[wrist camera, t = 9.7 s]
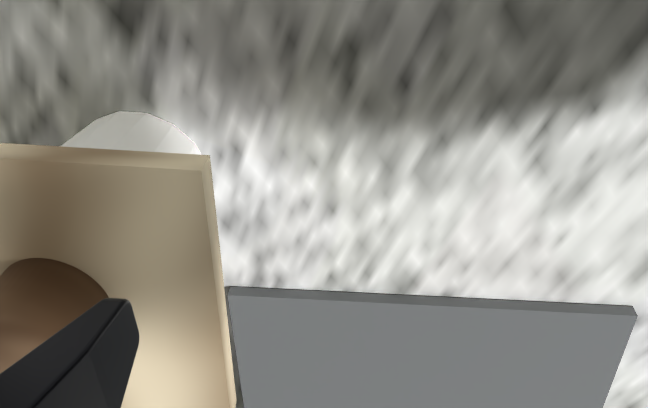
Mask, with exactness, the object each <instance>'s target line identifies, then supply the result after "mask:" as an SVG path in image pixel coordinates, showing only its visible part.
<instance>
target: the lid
mask: <svg viewBox="0 0 648 408" xmlns="http://www.w3.org/2000/svg"><path fill="white" fill-rule="evenodd" d="M105 298H123V299H127V300H129V301H130V303H131V305H132V308H133V312H134V315H135V319H136V323H137V326H138V330H139V345H138V349H137V353H136V356H135V360H134V363H133V367H132V370H131V374H130V377H129V381H128V384H127V388H126V391H125V395H124V398H123V402H122V405H121V408H235V405H236V402H237V401H236V392H235V383H234V373H233V364H232V355H231V346H230V337H229V328H228V318H227V309H226V300H225V291H224V282H223V273H222V263H221V254H220V245H219V236H218V227H217V218H216V208H215V199H214V190H213V181H212V172H211V163H210V155H197V154H180V153H163V152H146V151H129V150H112V149H95V148H78V147H62V146H45V145H28V144H11V143H0V373H2V372H3V371H5V370H6V369H7V368H9V367H10V366H11V365H13V364H14V363H16V362H17V361H18V360H20V359H21V358H22V357H24V356H25V355H27V354H28V353H29V352H31V351H32V350H33V349H35V348H36V347H38V346H39V345H40V344H42V343H43V342H44V341H46V340H47V339H49V338H50V337H51V336H53V335H54V334H55V333H57V332H58V331H60V330H61V329H62V328H64V327H65V326H66V325H68V324H69V323H71V322H72V321H73V320H75V319H76V318H77V317H79V316H80V315H82V314H83V313H84V312H86V311H87V310H88V309H90V308H91V307H93V306H94V305H95V304H97V303H98V302H99V301H101V300H103V299H105Z"/></svg>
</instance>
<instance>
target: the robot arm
mask: <svg viewBox="0 0 648 408" xmlns="http://www.w3.org/2000/svg"><path fill="white" fill-rule="evenodd" d="M138 345H139V330H138V326H137V323H136V319H135V315H134V312H133V308H132V305H131V303H130V301H129V300H127V299H123V298H105V299H103V300H101V301H99V302H98V303H97V304H95V305H94V306H93V307H91V308H90V309H88V310H87V311H86V312H84V313H83V314H82V315H80V316H79V317H77V318H76V319H75V320H73V321H72V322H71V323H69V324H68V325H66V326H65V327H64V328H62V329H61V330H60V331H58V332H57V333H55V334H54V335H53V336H51V337H50V338H49V339H47V340H46V341H44V342H43V343H42V344H40V345H39V346H38V347H36V348H35V349H33V350H32V351H31V352H29V353H28V354H27V355H25V356H24V357H22V358H21V359H20V360H18V361H17V362H16V363H14V364H13V365H11V366H10V367H9V368H7V369H6V370H5V371H3V372H2V373H0V408H121V405H122V402H123V398H124V395H125V391H126V388H127V384H128V381H129V377H130V374H131V370H132V367H133V363H134V360H135V356H136V353H137V349H138Z"/></svg>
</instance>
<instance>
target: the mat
mask: <svg viewBox="0 0 648 408" xmlns="http://www.w3.org/2000/svg"><path fill="white" fill-rule="evenodd" d="M227 296H228V303H229V310H230V316H231V323H232V330H233V336H234V343H235V350H236V357H237V363H238V370H239V377H240V383H241V390H242V397H243V403H244V408H603V405H604V403H605V400H606V398H607V395H608V392H609V390H610V387H611V384H612V382H613V379H614V377H615V374H616V371H617V369H618V366H619V363H620V361H621V358H622V356H623V353H624V350H625V348H626V345H627V342H628V340H629V337H630V335H631V332H632V329H633V327H634V324H635V321H636V319H637V314H636V312H635V310H634V308H633V306H616V305H596V304H576V303H555V302H535V301H515V300H494V299H474V298H454V297H433V296H413V295H393V294H372V293H352V292H332V291H311V290H291V289H271V288H250V287H230V289H229V292H228V295H227Z"/></svg>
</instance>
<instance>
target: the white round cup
mask: <svg viewBox="0 0 648 408" xmlns="http://www.w3.org/2000/svg"><path fill="white" fill-rule="evenodd" d="M61 146H62V147H78V148H95V149H112V150H129V151H146V152H163V153H180V154H197V155H202V154H201V153H200V151H199V149H198V147H197V145H196V144H195V143H194V142H193V141H192V140H191V139H190V138H189V137H188V136H187V135H185V134H184V133H183V132H182V131H181V130H180V129H179V128H177V127H176V126H175V125H174V124H172V123H170V122H167V121H165V120H163V119H160V118H158V117H156V116H153V115H151V114H149V113H142V112H127V111H118V112H115V113H112V114H110V115H107V116H104V117H101V118H98V119H96V120H95V121H93V122H92V123H91V124H89V125H88V126H87V127H85V128H84V129H82V130H81V131H80V132H78V133H77V134H76V135H74V136H73V137H72V138H70V139H69V140H68V141H66V142H65V143H64V144H62V145H61Z"/></svg>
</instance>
